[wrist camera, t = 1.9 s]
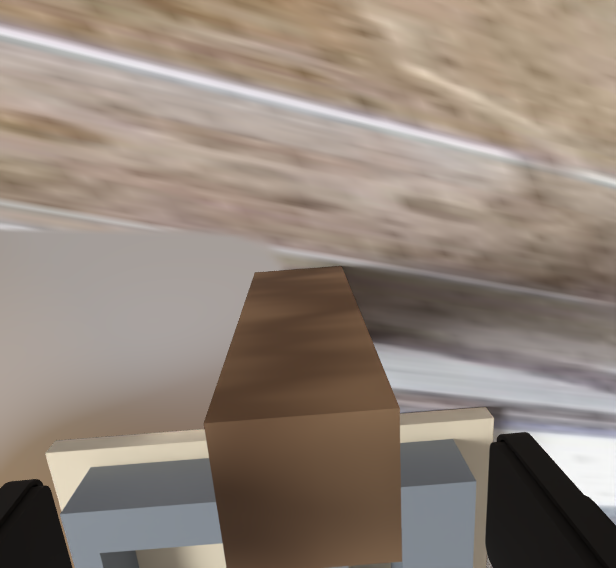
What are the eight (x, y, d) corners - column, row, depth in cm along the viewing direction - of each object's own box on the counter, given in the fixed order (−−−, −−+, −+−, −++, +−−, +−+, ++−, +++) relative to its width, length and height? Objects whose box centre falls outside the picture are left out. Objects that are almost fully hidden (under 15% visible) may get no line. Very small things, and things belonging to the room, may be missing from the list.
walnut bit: (341, 265, 21) (399, 408, 9) (345, 345, 22) (401, 561, 10) (254, 272, 21) (203, 423, 9) (263, 351, 22) (227, 575, 10)
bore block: (485, 407, 23) (524, 458, 19) (476, 599, 27) (507, 674, 23) (55, 440, 23) (7, 498, 19) (106, 629, 26) (74, 709, 23)
